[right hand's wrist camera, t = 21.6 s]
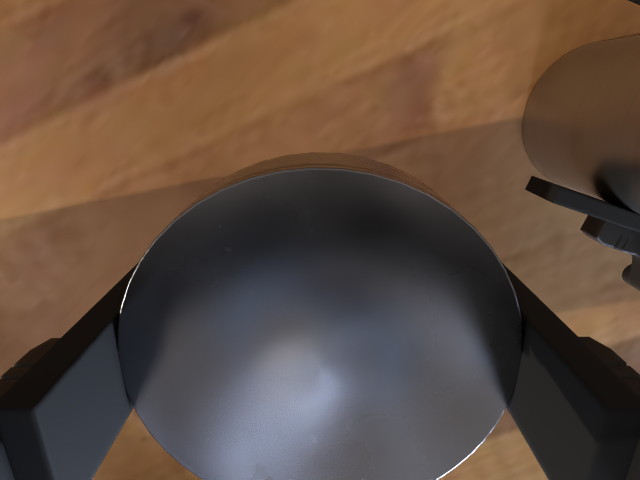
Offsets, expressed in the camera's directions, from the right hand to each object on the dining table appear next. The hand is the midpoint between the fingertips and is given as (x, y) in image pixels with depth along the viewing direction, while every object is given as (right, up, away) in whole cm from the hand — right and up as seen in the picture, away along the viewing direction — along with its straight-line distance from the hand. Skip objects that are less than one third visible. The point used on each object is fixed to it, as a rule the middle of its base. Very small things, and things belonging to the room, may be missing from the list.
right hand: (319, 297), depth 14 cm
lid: (0, -1, -3) cm, 3 cm away
